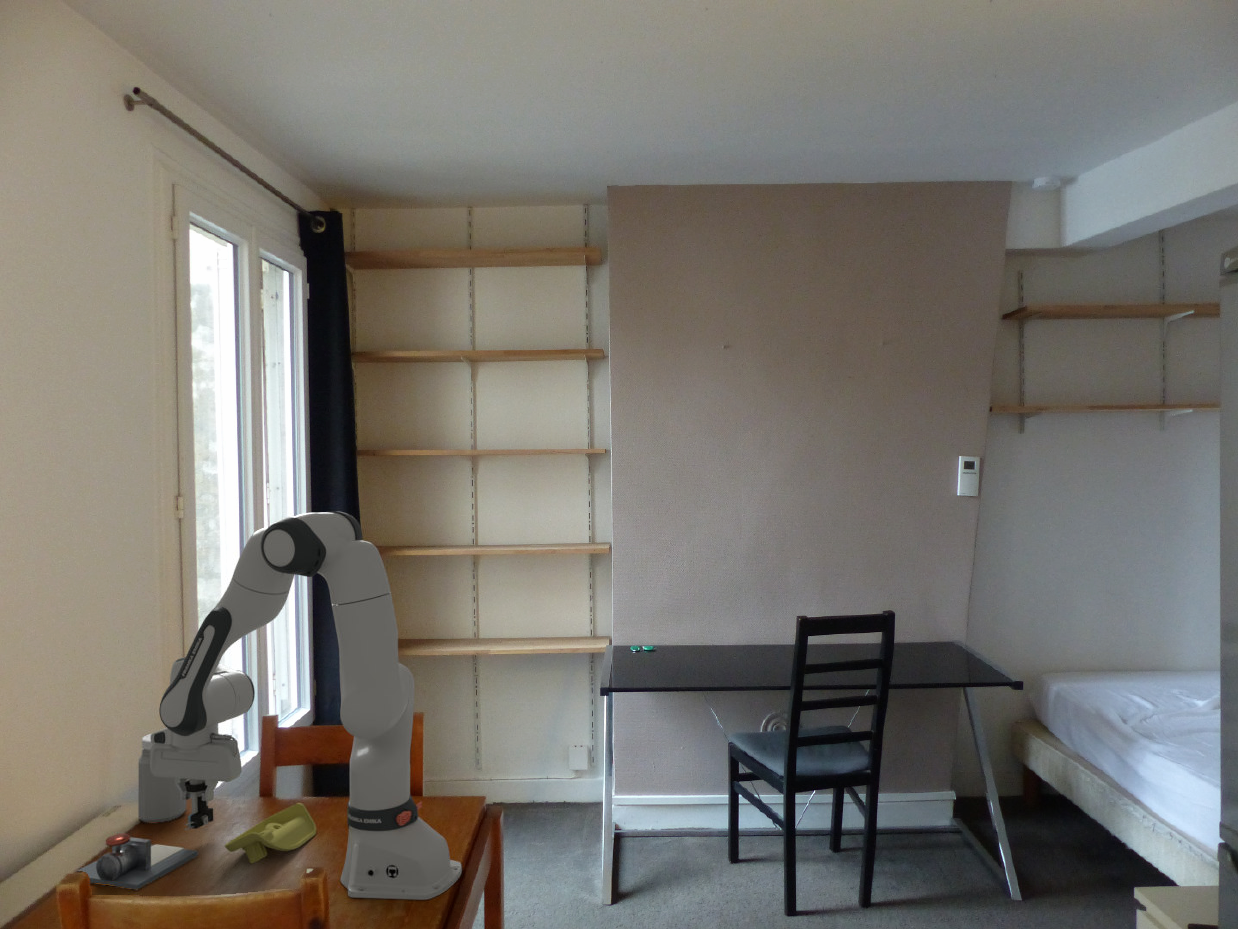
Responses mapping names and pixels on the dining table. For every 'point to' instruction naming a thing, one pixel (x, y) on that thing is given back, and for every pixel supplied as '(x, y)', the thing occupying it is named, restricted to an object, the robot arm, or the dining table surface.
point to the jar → (156, 792)
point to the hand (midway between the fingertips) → (197, 799)
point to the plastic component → (276, 833)
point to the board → (161, 864)
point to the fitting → (124, 856)
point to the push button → (198, 805)
